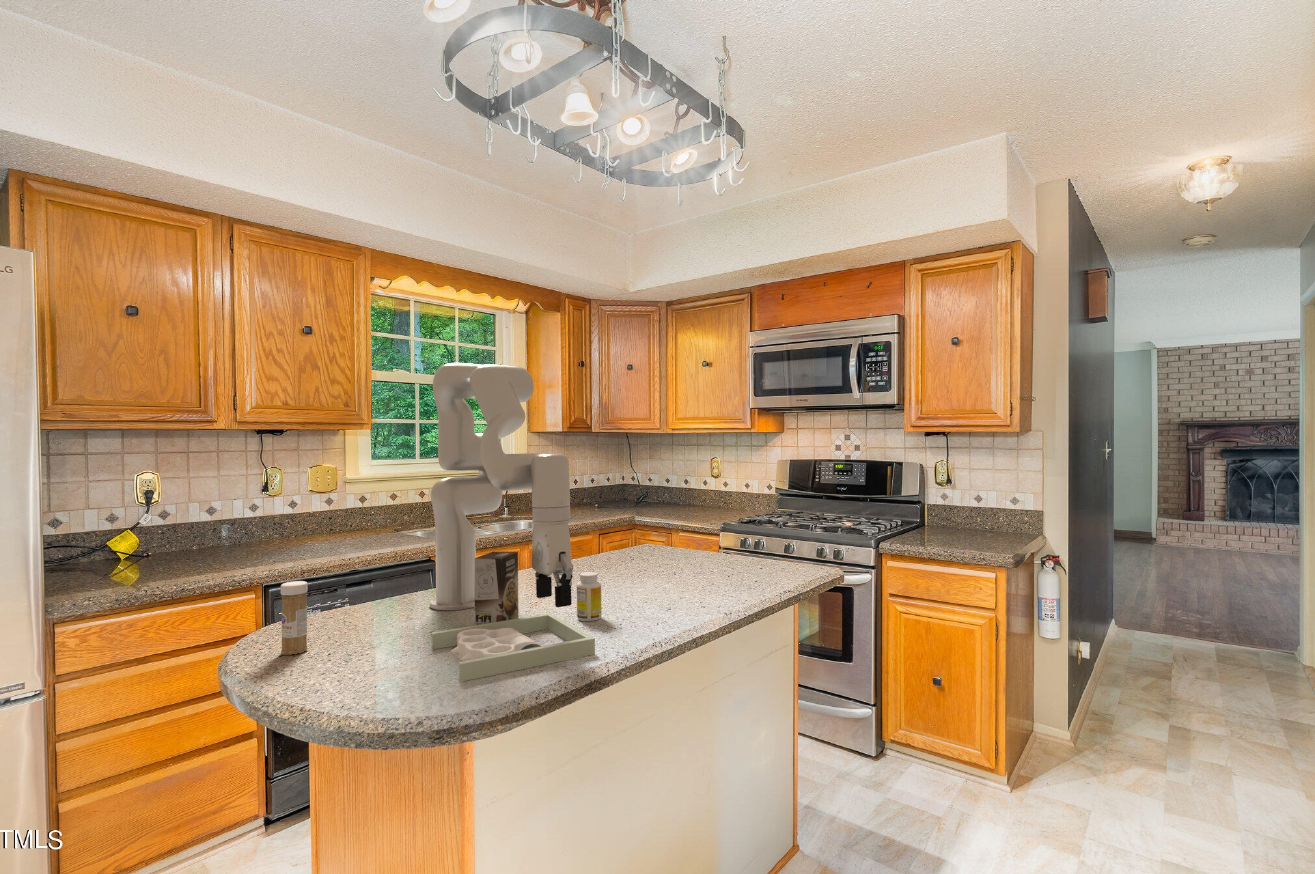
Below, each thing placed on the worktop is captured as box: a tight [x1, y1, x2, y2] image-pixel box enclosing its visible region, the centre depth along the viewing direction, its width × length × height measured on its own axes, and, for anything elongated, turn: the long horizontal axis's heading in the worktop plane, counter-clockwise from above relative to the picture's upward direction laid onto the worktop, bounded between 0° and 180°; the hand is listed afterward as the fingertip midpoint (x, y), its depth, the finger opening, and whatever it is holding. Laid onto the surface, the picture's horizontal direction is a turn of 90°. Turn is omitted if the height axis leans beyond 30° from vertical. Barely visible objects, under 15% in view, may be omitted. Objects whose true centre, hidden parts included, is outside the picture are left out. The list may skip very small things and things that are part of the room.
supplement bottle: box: [576, 571, 603, 622], centre depth 147 cm, size 6×6×10 cm
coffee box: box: [474, 551, 520, 626], centre depth 140 cm, size 9×6×16 cm
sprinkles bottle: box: [280, 580, 308, 656], centre depth 126 cm, size 5×5×14 cm
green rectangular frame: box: [430, 612, 596, 683], centre depth 125 cm, size 21×25×3 cm
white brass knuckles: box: [449, 628, 542, 662], centre depth 123 cm, size 3×18×15 cm
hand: (553, 601), depth 129 cm, fingers open, 9 cm apart
